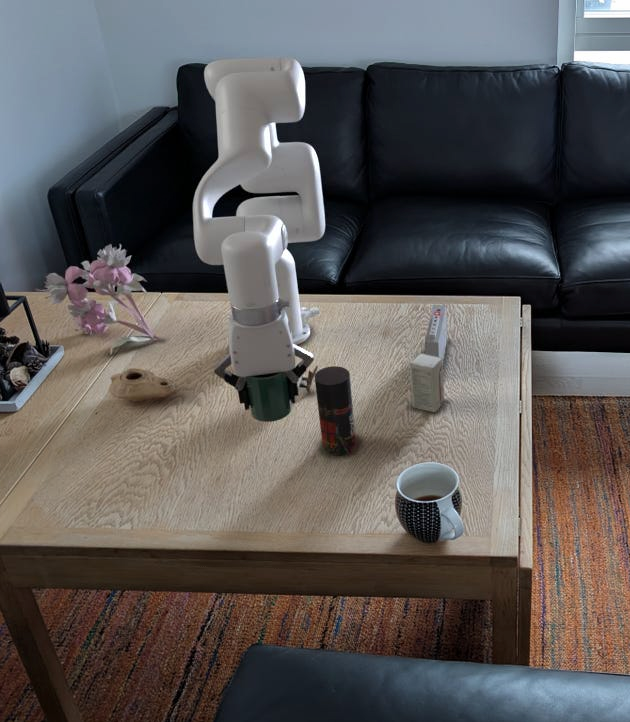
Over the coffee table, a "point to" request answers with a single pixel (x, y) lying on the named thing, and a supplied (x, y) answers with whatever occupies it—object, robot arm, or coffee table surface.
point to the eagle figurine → (307, 380)
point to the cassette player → (436, 332)
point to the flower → (104, 280)
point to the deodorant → (335, 410)
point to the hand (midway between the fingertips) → (270, 401)
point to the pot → (269, 396)
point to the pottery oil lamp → (139, 385)
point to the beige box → (427, 382)
